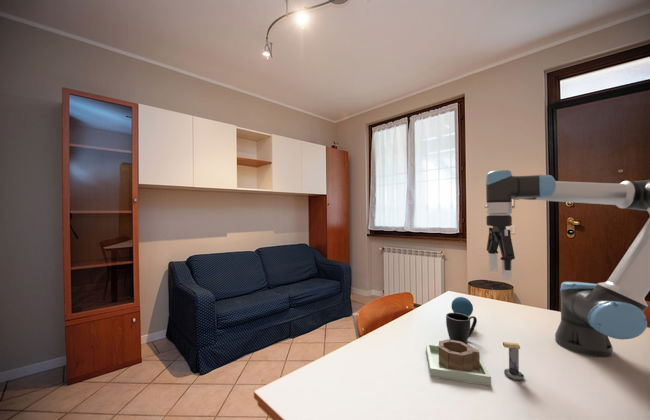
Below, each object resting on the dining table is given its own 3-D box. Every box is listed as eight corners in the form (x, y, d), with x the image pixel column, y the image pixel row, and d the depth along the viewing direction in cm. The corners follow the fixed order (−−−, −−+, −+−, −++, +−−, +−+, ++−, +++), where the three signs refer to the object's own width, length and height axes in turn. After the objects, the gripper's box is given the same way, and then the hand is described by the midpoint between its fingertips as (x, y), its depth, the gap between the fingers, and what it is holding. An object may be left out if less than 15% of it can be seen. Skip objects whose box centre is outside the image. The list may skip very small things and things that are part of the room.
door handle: (519, 372, 83) (519, 341, 83) (526, 382, 78) (526, 348, 78) (501, 370, 84) (500, 339, 84) (506, 379, 80) (506, 346, 80)
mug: (484, 344, 100) (484, 319, 100) (455, 348, 98) (455, 321, 98) (468, 335, 108) (468, 311, 108) (441, 337, 106) (441, 313, 106)
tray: (476, 356, 92) (476, 349, 92) (491, 385, 77) (491, 376, 77) (425, 350, 96) (425, 343, 96) (430, 376, 81) (430, 368, 81)
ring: (477, 361, 88) (477, 344, 88) (481, 377, 79) (481, 358, 79) (439, 353, 93) (439, 337, 93) (438, 368, 84) (438, 350, 84)
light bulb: (473, 323, 119) (473, 296, 119) (472, 331, 112) (472, 301, 112) (452, 319, 123) (452, 293, 124) (450, 326, 116) (450, 298, 116)
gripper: (477, 214, 109) (477, 267, 109) (498, 215, 85) (499, 283, 85) (498, 214, 107) (499, 268, 107) (526, 215, 83) (527, 285, 83)
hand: (499, 275), depth 96 cm, fingers open, 13 cm apart
